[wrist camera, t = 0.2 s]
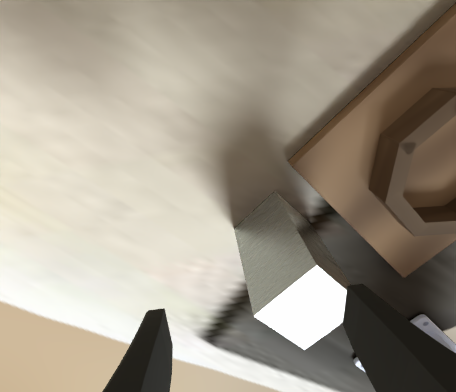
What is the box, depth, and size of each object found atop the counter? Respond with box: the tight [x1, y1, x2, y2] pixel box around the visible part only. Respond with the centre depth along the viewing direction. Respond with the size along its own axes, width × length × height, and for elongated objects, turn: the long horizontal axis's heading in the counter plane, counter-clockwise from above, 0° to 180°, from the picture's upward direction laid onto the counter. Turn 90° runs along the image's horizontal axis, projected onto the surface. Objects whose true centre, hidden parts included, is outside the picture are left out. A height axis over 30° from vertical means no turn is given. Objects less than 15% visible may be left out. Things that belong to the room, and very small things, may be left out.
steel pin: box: [234, 191, 351, 350], centre depth 19 cm, size 4×4×8 cm
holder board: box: [288, 3, 456, 278], centre depth 20 cm, size 14×14×3 cm
